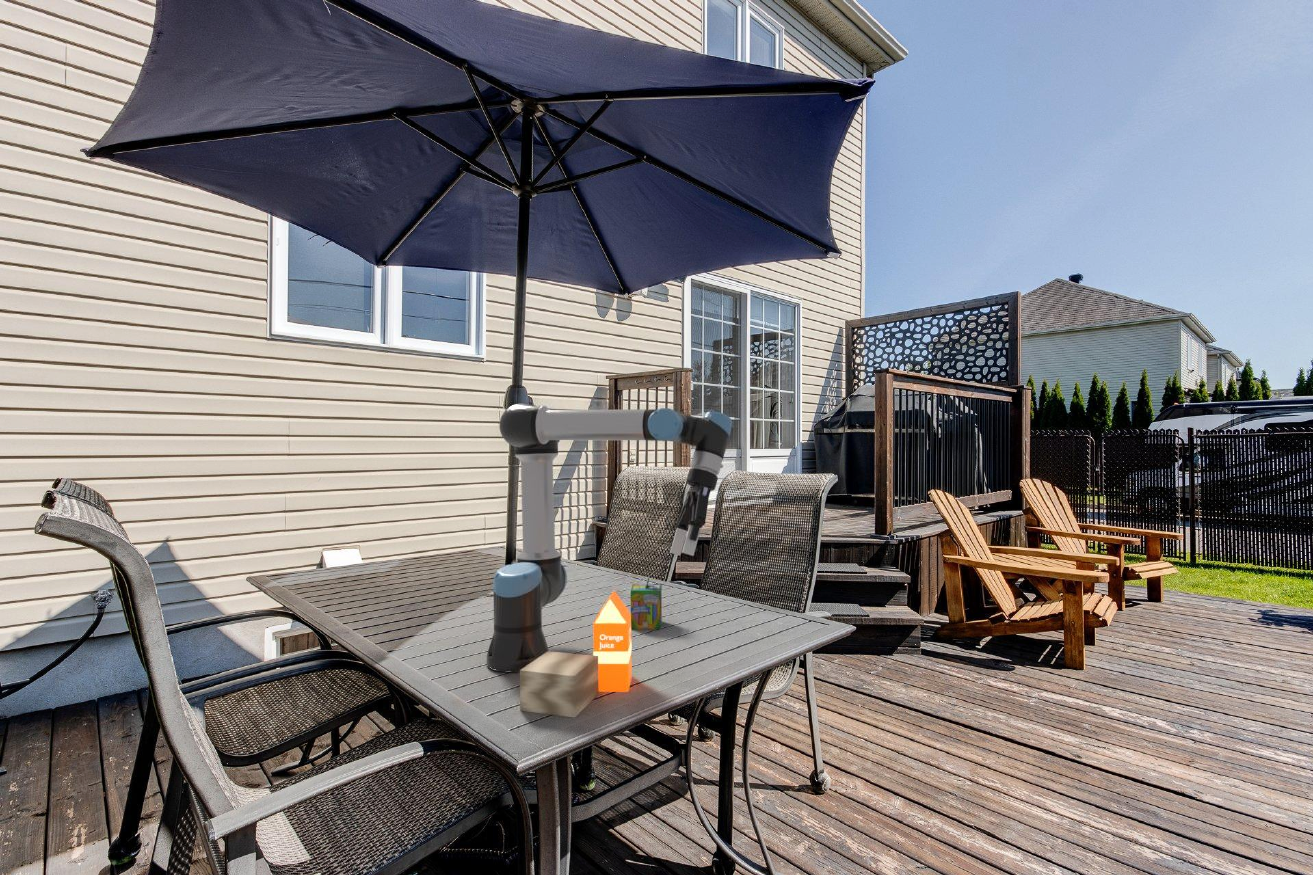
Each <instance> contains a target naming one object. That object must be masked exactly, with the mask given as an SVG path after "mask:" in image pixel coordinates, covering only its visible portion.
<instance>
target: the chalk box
mask: <svg viewBox="0 0 1313 875" xmlns="http://www.w3.org/2000/svg"><path fill="white" fill-rule="evenodd" d="M650 576H651V574H648V576H647V581H646V583H632V585H631V589H630V613H631V631H632V630H662V622H663V621H662V620H663V617H662V615H663V613H662V601H663V600H662V594H663V593H662V591H663V589H662V588H663V587H662V586H663V585H662V584H661V583H649V581H650V578H651V577H650Z"/></svg>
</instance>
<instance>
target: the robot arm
mask: <svg viewBox="0 0 1313 875" xmlns="http://www.w3.org/2000/svg"><path fill="white" fill-rule="evenodd" d="M498 425H499V431H500V435H501V436H502V438H503V440H504V441H505V442H507V444H508V445H510V446H512V447H514V456H515V457H516V459H518V461H519V462H520V477H521V479H520V480H521V482H520V484H521V489H520V490H521V521H522V524H521V525H522V527H521V529H522V550H521V552H520V553H519V554H518V555H517V559H516V560H517V561H516V562H514V563H512V564H506V565H504V566H501V567H500V568H498V569H497V570H495V571H496V572H494V576H493V584H492V590H493V596H492V597H493V634H492V637H491V640H490V644H489V647H488V650H487V654H486V666H487V665H488V667H491V668H492V669H496V670H498V671H497V672H500V671H520V670H521V669H522V668H524V667H525V666H527V665H528V664H530V663H531V662H533V661H534V660H536V659H537V658H539V657H540V656H542V655H543V654H545V653H546V652H547V651H550V649H549V646H548V643H547V639H546V637H545V634H544V631H543V623H542V621H543V617H542V615H543V612H542V611H543V610H542V608H544V607H545V606H547V605H549V604H551V603H554V602H555V601H556V600H557V599H558V598H559V597H560V596H561V595H562V593H563V592H564V590H565V588H566V586H567V581H568V574H567V570H566V568H565V566H564V565H563V564H562V560H561V559H562V557H561V556H562V554H561V552H560V551H558V549H556V543H555V542H556V538H555V537H556V536H555V533H556V532H555V501H554V500H555V498H554V497H555V494H554V464H553V462H554V460H555V459H556V457H557V456H558V455H559V442H560V441H646V442H647V441H648V442H649V441H650V442H655V441H656V442H658V441H659V442H660V441H661V442H674V443H678V444H679V443H680V444H683V445H688V446H691V447H695V449H694V452H693V455H692V458H691V461H690V466H689V467H690V469H688V473H687V477H686V479H685V481H686V484H687V485H689V486H691V487H692V489H691V491H690V490H689V491H687V493H686V496H685V500H684V502H683V505H682V506H681V510H680V513H679V516H678V518H677V521H676V523H675V526H676V530H675V533H674V537H673V540H672V543H671V547H670V551H669V554H673V555H677V556H679V557H681V554H685V555H689V556H693V557H694V556H695V552H696V549H697V548H696V547H697V544H698V540H699V537H700V534H701V530H702V528H703V526H705V525H706V521H707V520H706V519H707V512H708V507H709V499H710V495H711V494H710V493H711V492H713V491H715V490H716V487H717V484H718V479H719V477H718V475H719V474H720V471H721V469H723V468H724V464H722V463H723V461H724V457H725V453H726V450H727V447H728V443H729V440H730V436H731V432H732V431H731V430H732V427H733V420H732V419H731V417H729V416H728V415H727V414H724V413H723V412H720V411H707V412H706V413H705V414H704V415H703V417H696V416H692V415H688V414H686V413H685V414H684V413H681V412H677V411H676V410H674V409H673V408H667V407H665V408H664V407H662V408H658V409H550V408H548V407H547V406H546V405H536V404H529V403H525V402H523V403H522V402H521V403H516V404H512V405H510V406H509V407H507V408H506V409H505V410H504V412H503V413H502V415H501V416H500V420H499V424H498ZM488 667H487V668H488ZM492 669H491V670H492Z"/></svg>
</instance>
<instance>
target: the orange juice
mask: <svg viewBox="0 0 1313 875" xmlns="http://www.w3.org/2000/svg"><path fill="white" fill-rule="evenodd" d="M592 625H593V626H592V627H593V629H592V630H593V632H592V634H593V638H592V639H593V654H592V655H593V656H598V675H599V692H600V693H601V692H604V693H606V692H612V693H613V692H615V693H616V692H619V693H620V692H623V693H625V692H627V693H628V692H629V691H630V686H631V683H632V677H633V676H632V674H633V673H632V672H633V671H632V667H633V666H632V661H633V660H632V648H633V646H632V630H631V611H630V610H629V609H628V607H627V606H626V604H625V603H624V602H623V601H622V599H621V598H620V596H619V595H618V593H617V592H616V590H615V589H614V590H613V591H612V592H611V594H610V596H609V597H608V599H607V600H606V601H605V603H604V604H603V606H602V607H601V609H600V610H599V612H598V613H597V615H596V617H595V619H594V621H593V623H592Z"/></svg>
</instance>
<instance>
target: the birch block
mask: <svg viewBox="0 0 1313 875" xmlns="http://www.w3.org/2000/svg"><path fill="white" fill-rule="evenodd" d="M599 694H600V693H599V675H598V656H593V654H581V653H571V652H560V651H550V650H549V651H547V652H546V653H545V654H543V655H542V656H540V657H539V658H537V659H536V660H534V661H533V662H531V663H530V664H528V665H527V666H525V667H524V668H522V669H521V670H520V672H519V711H520V712H521V711H522V712H529V713H537V714H545V715H553V716H558V717H568V718H576V717H577V716H578V715H579V714H580V713H581V712H582V711H583V710H584V709H585V708H586V707H587V706H588V705H589V704H590V703H591V702H592V701H593V700H594V699H595V698H596V697H597V696H598V695H599Z"/></svg>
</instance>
